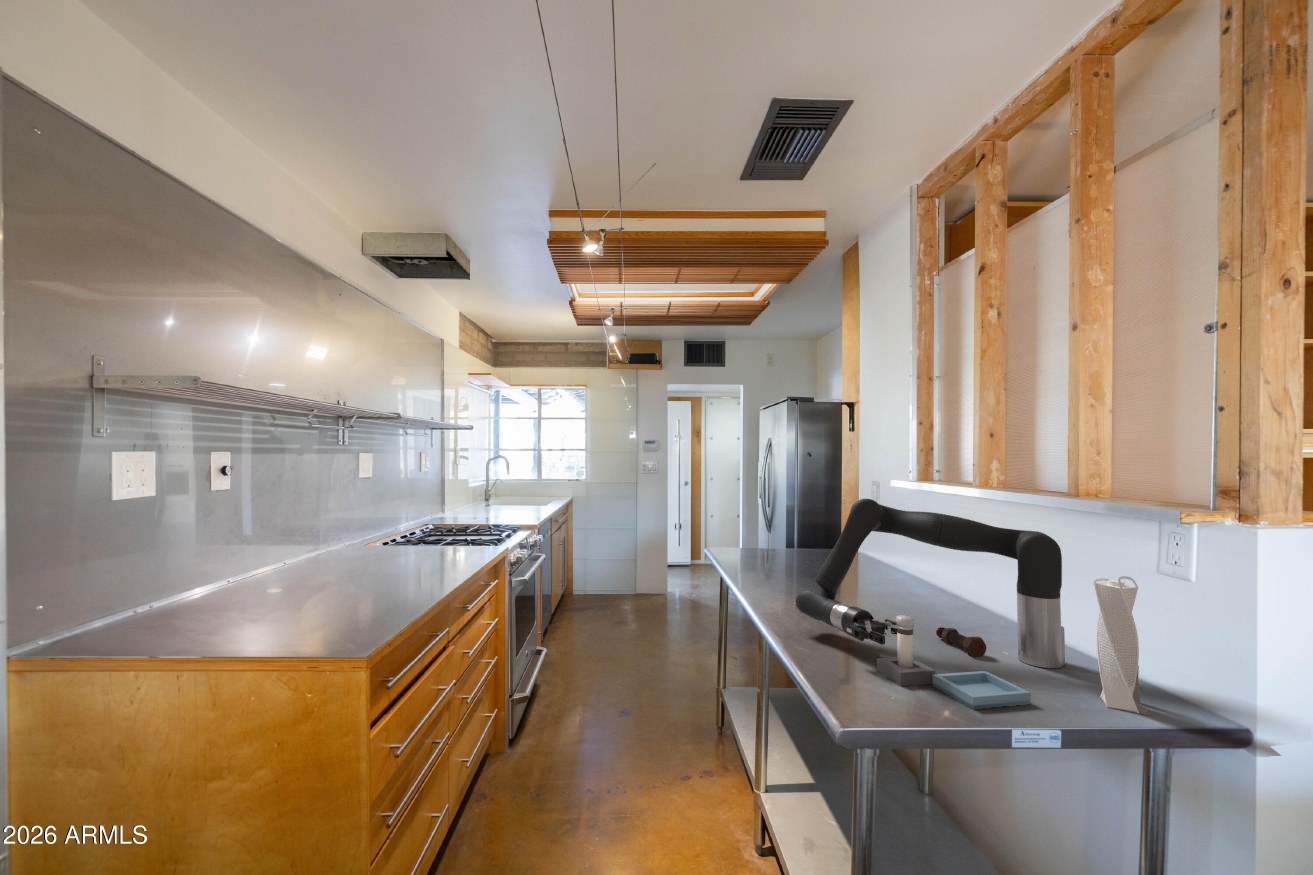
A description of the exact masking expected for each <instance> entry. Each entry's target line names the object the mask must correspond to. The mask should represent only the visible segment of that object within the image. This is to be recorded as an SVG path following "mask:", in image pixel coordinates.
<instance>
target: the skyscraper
mask: <svg viewBox="0 0 1313 875" xmlns="http://www.w3.org/2000/svg"><path fill="white" fill-rule="evenodd" d="M1124 579H1125V580H1130V581H1132V583H1133V585H1128V584H1125V583H1126V582H1125V581H1123V580H1124ZM1105 581H1106V582H1105ZM1093 587H1094V591H1095V595H1096V598H1097V602H1098V606H1099V611H1098V616H1097V622H1096V633H1095V634H1096V635H1095V636H1096V637H1095V638H1096V639H1095V640H1096V653H1097V654H1096V655H1097V662H1098V664H1097V665H1098V669H1099V676H1100V677H1099V678H1100V681H1101V682H1100V683H1101V687H1102V691H1101V694H1097V696H1098V698H1099V699H1100V700H1101V702H1102V703H1103V704H1104V705H1105V707H1106V708H1107V709H1111V710H1118V711H1125V712H1129V713H1135V714H1141V715H1147V716H1152V714H1151V713H1150V712H1149V711H1148V710H1147V709H1146V707H1145V706H1144V705H1143V704H1142V702H1141V700H1140V696H1141V694H1140V693H1141V686H1140V684H1139V673H1140V672H1139V671H1140V669H1139V668H1140V666H1139V662H1140V661H1139V659H1140V652H1139V651H1140V647H1139V646H1140V645H1139V636H1138V631H1137V630H1138V629H1137V626H1136V623H1135V619H1134V615H1133V610H1134V606H1135V602H1136V598H1137V595H1138V591H1139V590H1138V589H1139V586H1138V583H1137V582H1136V581H1135V580H1134V578H1132V577H1131V576H1126V575H1124V576H1120V577H1117V579H1109V578H1096V579H1094V580H1093Z"/></svg>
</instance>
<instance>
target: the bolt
mask: <svg viewBox="0 0 1313 875" xmlns="http://www.w3.org/2000/svg"><path fill="white" fill-rule="evenodd" d="M935 631H936V636H937V637H938V638H940V639H941V640H942V641H943V642H944V644H946V643H947V644H946V645H948V644H950V645H949V646H952V645H951V644H955V645H954V646H958V647H959V648H962V649H964V650H965V651H966V654H967V655H968V656H969V657H971V658H982V657H984V656H985V654H986V651H987V645H986V643H985V641H984V639H983V638H982V637H980V636H965V635H963V634H960V633H959V632H958V630H957V629H956V628H954V627H943V626H941V627H938V628H937V630H935Z"/></svg>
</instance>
